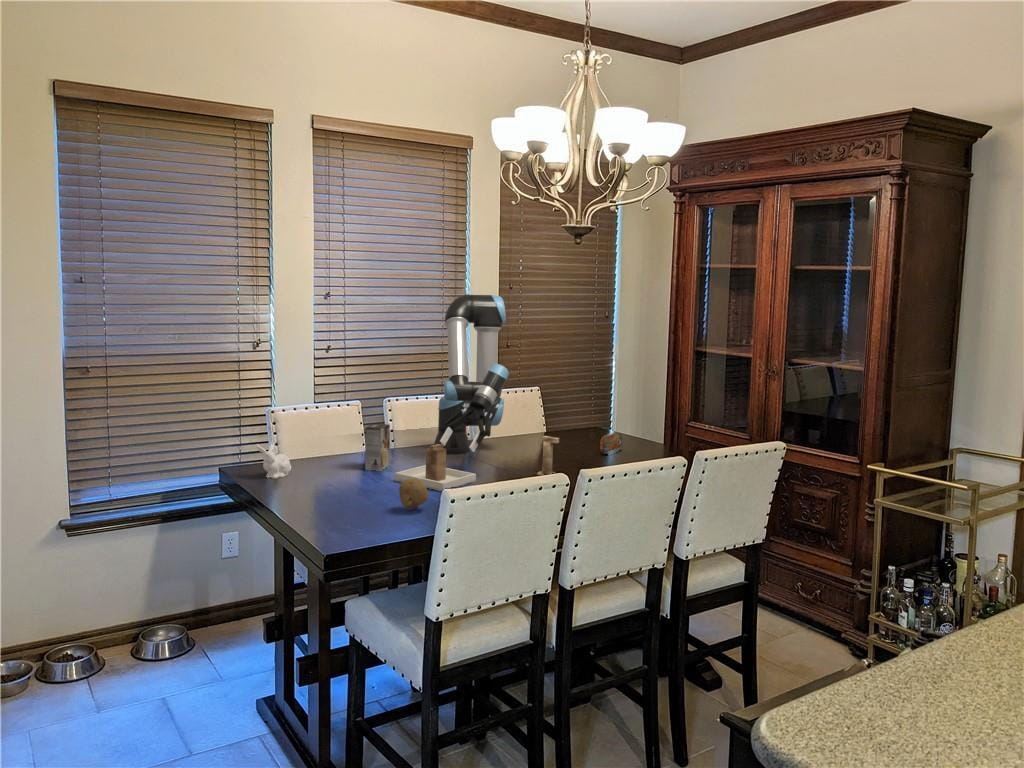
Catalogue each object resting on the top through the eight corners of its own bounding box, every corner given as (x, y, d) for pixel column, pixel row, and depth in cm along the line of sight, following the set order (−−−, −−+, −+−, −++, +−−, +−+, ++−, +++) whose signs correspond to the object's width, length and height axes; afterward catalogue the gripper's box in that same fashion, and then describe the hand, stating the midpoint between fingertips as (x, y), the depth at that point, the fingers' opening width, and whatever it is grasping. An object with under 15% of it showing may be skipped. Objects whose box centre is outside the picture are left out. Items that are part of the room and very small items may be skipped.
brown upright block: (425, 479, 286) (426, 445, 285) (434, 476, 291) (435, 443, 289) (436, 481, 284) (437, 447, 282) (445, 479, 288) (446, 445, 286)
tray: (394, 481, 286) (394, 472, 286) (428, 472, 301) (428, 464, 300) (443, 492, 274) (443, 483, 273) (475, 482, 288) (476, 473, 288)
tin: (604, 456, 337) (605, 436, 336) (597, 455, 339) (598, 435, 338) (622, 451, 349) (623, 432, 348) (616, 450, 351) (617, 431, 350)
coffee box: (373, 464, 309) (374, 423, 307) (389, 466, 308) (390, 424, 306) (364, 470, 300) (365, 427, 298) (381, 471, 299) (381, 428, 297)
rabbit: (271, 480, 281) (271, 446, 280) (252, 476, 286) (252, 443, 284) (297, 474, 292) (297, 441, 290) (278, 470, 296) (277, 437, 295)
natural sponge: (428, 506, 257) (429, 475, 256) (426, 514, 248) (427, 482, 247) (400, 505, 257) (400, 474, 255) (397, 513, 248) (397, 481, 246)
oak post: (533, 476, 300) (535, 437, 298) (544, 472, 306) (545, 434, 304) (551, 479, 296) (552, 439, 294) (561, 475, 302) (562, 437, 300)
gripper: (514, 411, 299) (488, 458, 289) (461, 401, 313) (434, 446, 303) (506, 398, 294) (480, 446, 284) (452, 389, 308) (425, 435, 298)
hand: (456, 446), depth 294 cm, fingers open, 13 cm apart
